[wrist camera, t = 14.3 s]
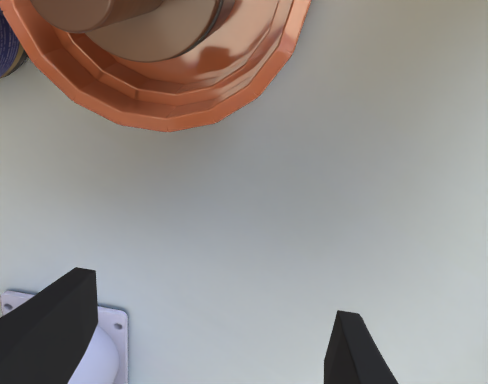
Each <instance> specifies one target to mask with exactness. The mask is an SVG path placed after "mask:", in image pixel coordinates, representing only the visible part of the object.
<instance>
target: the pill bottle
mask: <svg viewBox="0 0 488 384" xmlns="http://www.w3.org/2000/svg"><path fill="white" fill-rule="evenodd" d="M26 56H27V53H26V51H25V50H24V48H23V46H22V45H21V43H20V41H19V40H18V38H17V36H16V35H15V33H14V31H13V30H12V28H11V26H10V25H9V23H8V21H7V20H6V18H5V17H4V15H3V11H1V8H0V78H3V77H6V76H8V75H10V74H11V73H12V72H14V71H15V70H16V69H17V68H18V67H19V66H20V65H21V64H22V63H23V62H24V60H25V58H26Z"/></svg>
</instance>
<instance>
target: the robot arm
mask: <svg viewBox="0 0 488 384" xmlns="http://www.w3.org/2000/svg"><path fill="white" fill-rule="evenodd" d="M0 301H1V307H2V313H3V316H2V317H1V318H0V384H128V316H127V314H126V313H125V312H123V311H121V310H116V309H110V308H104V307H99V306H98V305H97V287H96V271H95V270H89V269H83V268H77V267H76V268H74V269H73V270H71V271H70V272H68V273H67V274H65V275H64V276H62V277H61V278H59V279H58V280H56V281H55V282H54V283H52V284H51V285H49V286H48V287H46V288H45V289H44V290H42V291H41V292H39V293H38V294H36V295H31V294H25V293H20V292H14V291H5V292H4V293H3V294H2V295H1V296H0ZM117 323H119V324H121V325H119V324H117ZM324 384H398V382H397V381H396V379H395V377H394V376H393V374H392V372H391V371H390V369H389V367H388V366H387V364H386V362H385V361H384V359H383V357H382V355H381V354H380V352H379V350H378V348H377V346H376V344H375V343H374V341H373V339H372V337H371V335H370V333H369V331H368V329H367V327H366V325H365V323H364V321H363V319H362V317H361V316H360V314H358V313H351V312H345V311H339V310H338V311H337V315H336V319H335V322H334V326H333V330H332V333H331V337H330V341H329V345H328V348H327V352H326V356H325V360H324Z"/></svg>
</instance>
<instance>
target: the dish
mask: <svg viewBox="0 0 488 384" xmlns="http://www.w3.org/2000/svg"><path fill="white" fill-rule="evenodd" d="M311 1H312V0H235V3H234V6H233V8H232V10H231V12H230V14H229V16H228V17H227V19H226V20H225V22H224V23H223V24H222V25H221V26H220V27H219V28H218V29H217V30H216V31H215V32H214V33H213V34H211V35H210V36H209V37H208V38H206V39H205V40H204V41H203V42H201V43H200V44H199V45H197V46H196V47H195V48H193V49H192V50H190V51H189V52H187V53H185V54H183V55H181V56H178V57H176V58H172V59H169V60H164V61H159V62H152V63H142V62H135V61H130V60H126V59H122V58H120V57H117V56H115V55H113V54H111V53H109V52H107V51H106V50H104V49H102V48H101V47H100V46H98V45H97V44H96V43H94V42H93V41H92V40H91V39H90V38H89V37H88V36H87V35H86V34H85V33H69V32H65V31H63V30H60V29H58V28H56V27H54V26H53V25H51V24H50V23H48V22H47V21H46V20H45V19H44V18H43V17H41V15H40V14H39V13H38V12H37V11H36V9H35V8H34V7H33V5H32V3H31V1H30V0H0V8H1V11H3V15H4V17H5V18H6V20H7V21H8V23H9V25H10V26H11V28H12V30H13V31H14V33H15V35H16V36H17V38H18V40H19V41H20V43H21V45H22V46H23V48H24V50H25V51H26V53H27V55H28V56H29V58H30V60H31V61H32V62H34V63H33V64H34V65H35V66H36V67H37V68H38V69H39V70H40V71H41V72H42V73H43V74H44V75H46V76H47V77H48V78H49V79H50V80H51V81H52V82H53V83H54V84H55V85H56V86H57V87H58V88H59V89H60V90H61V91H62V92H63V93H65V94H66V95H67V96H68V97H69V98H70V99H71V100H72V101H74V102H75V103H77V104H79V105H81V106H83V107H85V108H87V109H89V110H91V111H93V112H95V113H97V114H99V115H101V116H102V117H104V118H106V119H108V120H110V121H112V122H114V123H116V124H120V125H122V126H129V127H135V128H142V129H148V130H155V131H161V132H174V131H179V130H184V129H189V128H195V127H200V126H205V125H210V124H215V123H217V122H219V121H221V120H222V119H224V118H226V117H227V116H229V115H230V114H232V113H234V112H235V111H237V110H239V109H240V108H242V107H244V106H245V105H247V104H249V103H250V102H252V101H253V100H255V99H257V98H258V96H260V95H261V94H262V93H263V91H264V90H265V89H266V88H267V86H268V85H269V84H270V83H271V81H272V80H273V79H274V77H275V76H276V75H277V74H278V72H279V71H280V70H281V69H282V67H283V66H284V65H285V64H286V62H287V61H288V60H289V58H290V57H291V56H292V53H293V52H294V50H295V47H296V44H297V41H298V38H299V35H300V33H301V30H302V27H303V24H304V21H305V18H306V15H307V12H308V9H309V6H310V4H311Z"/></svg>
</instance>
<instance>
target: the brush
mask: <svg viewBox="0 0 488 384" xmlns="http://www.w3.org/2000/svg"><path fill="white" fill-rule="evenodd" d="M30 1H31V3H32V5H33V7H34V8H35V9H36V11H37V12H38V13H39V14H40V15H41V17H43V18H44V19H45V20H46V21H47V22H48V23H50V24H51V25H53V26H54V27H56V28H58V29H60V30H63V31H65V32H69V33H85V34H86V35H87V36H88V37H89V38H90V39H91V40H92V41H93V42H94V43H96V44H97V45H98V46H100V47H101V48H102V49H104V50H106V51H107V52H109V53H111V54H113V55H115V56H117V57H120V58H122V59H126V60H130V61H135V62H142V63H152V62H159V61H164V60H169V59H172V58H176V57H178V56H181V55H183V54H185V53H187V52H189V51H190V50H192V49H193V48H195V47H196V46H197V45H199V44H200V43H201V42H203V41H204V40H205V39H206V38H208V37H209V36H210V35H211V34H213V33H214V32H215V31H216V30H217V29H218V28H219V27H220V26H221V25H222V24H223V23H224V22H225V20H226V19H227V17H228V16H229V14H230V12H231V10H232V8H233V6H234V3H235V0H30Z"/></svg>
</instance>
